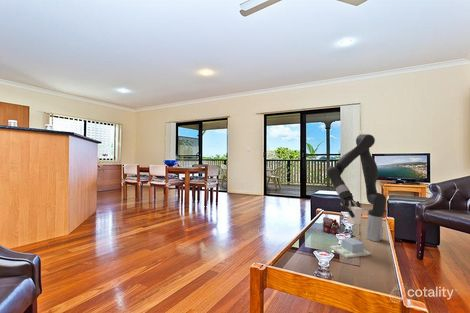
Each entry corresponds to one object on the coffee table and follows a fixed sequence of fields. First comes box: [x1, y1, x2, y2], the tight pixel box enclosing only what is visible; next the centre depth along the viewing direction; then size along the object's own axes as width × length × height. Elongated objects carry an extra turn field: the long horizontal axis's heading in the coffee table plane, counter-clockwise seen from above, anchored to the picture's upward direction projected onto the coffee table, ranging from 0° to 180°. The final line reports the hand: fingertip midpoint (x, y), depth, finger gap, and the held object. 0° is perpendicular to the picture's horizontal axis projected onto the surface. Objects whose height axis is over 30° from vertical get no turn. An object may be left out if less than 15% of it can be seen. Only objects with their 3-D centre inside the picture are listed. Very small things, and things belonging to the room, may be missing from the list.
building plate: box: [329, 237, 371, 259], centre depth 153 cm, size 18×14×6 cm
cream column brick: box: [347, 206, 363, 225], centre depth 153 cm, size 5×5×10 cm
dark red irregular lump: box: [322, 217, 341, 235], centre depth 186 cm, size 7×12×10 cm, turn 54°
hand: (357, 216), depth 151 cm, fingers closed on cream column brick, 5 cm apart
